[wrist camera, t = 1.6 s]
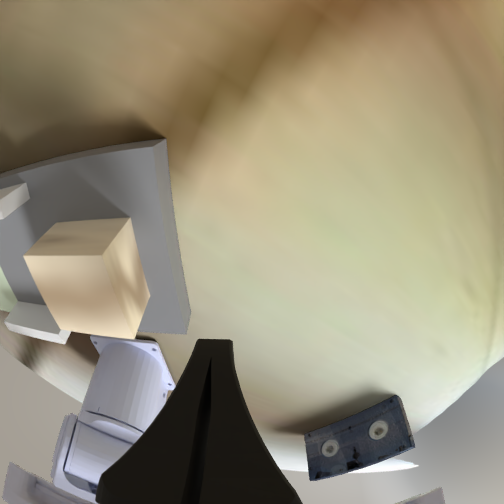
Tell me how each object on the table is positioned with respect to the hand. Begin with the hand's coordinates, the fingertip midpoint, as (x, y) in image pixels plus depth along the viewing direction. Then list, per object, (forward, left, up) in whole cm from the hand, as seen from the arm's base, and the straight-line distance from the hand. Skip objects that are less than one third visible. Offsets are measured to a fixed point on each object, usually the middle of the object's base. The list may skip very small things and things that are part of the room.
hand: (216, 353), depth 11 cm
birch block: (0, +9, -7) cm, 11 cm away
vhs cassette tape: (-35, -18, -10) cm, 41 cm away
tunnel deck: (0, +22, -9) cm, 23 cm away
